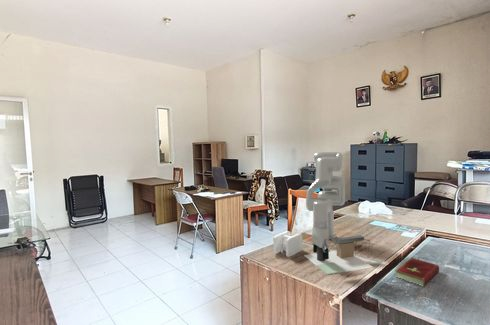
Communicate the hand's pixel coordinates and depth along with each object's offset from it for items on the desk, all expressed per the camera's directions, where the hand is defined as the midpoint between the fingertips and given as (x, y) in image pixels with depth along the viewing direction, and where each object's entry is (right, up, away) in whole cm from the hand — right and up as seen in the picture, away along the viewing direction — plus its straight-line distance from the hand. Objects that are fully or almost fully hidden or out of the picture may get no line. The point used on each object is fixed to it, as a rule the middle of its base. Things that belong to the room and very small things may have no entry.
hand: (320, 255), depth 145 cm
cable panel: (+8, -4, -2) cm, 9 cm away
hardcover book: (+42, -4, -16) cm, 45 cm away
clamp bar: (+16, +6, +4) cm, 18 cm away
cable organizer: (-16, -4, +13) cm, 20 cm away
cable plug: (0, -2, 0) cm, 2 cm away
